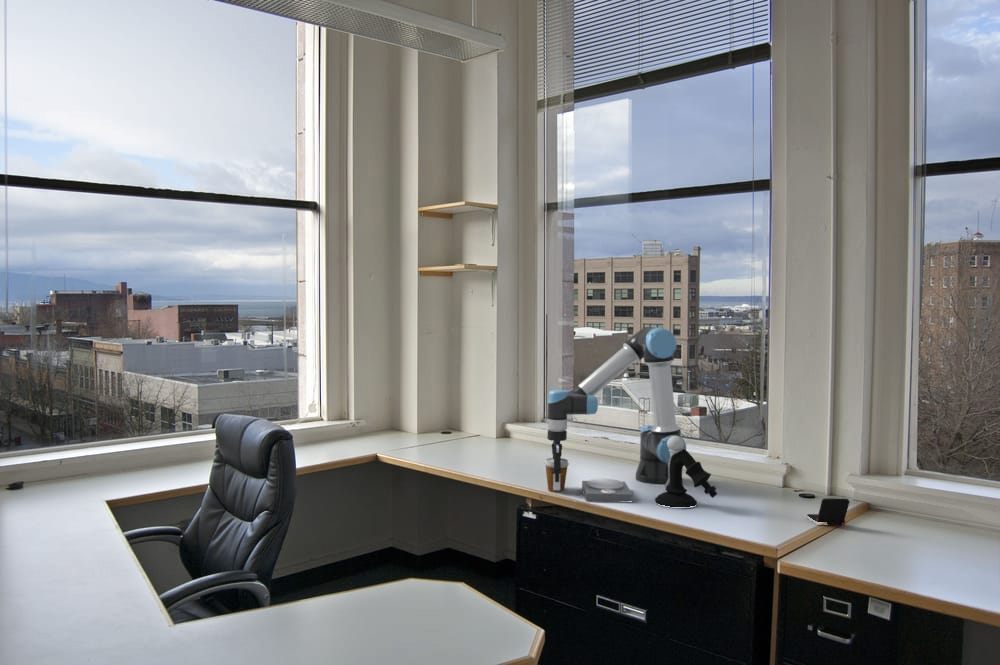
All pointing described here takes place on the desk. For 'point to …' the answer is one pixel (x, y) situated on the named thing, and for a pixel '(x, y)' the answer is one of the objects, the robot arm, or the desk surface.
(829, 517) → the handheld gaming console
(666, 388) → the robot arm
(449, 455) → the desk surface
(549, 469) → the disposable coffee cup
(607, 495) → the dial scale
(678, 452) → the sculpture
